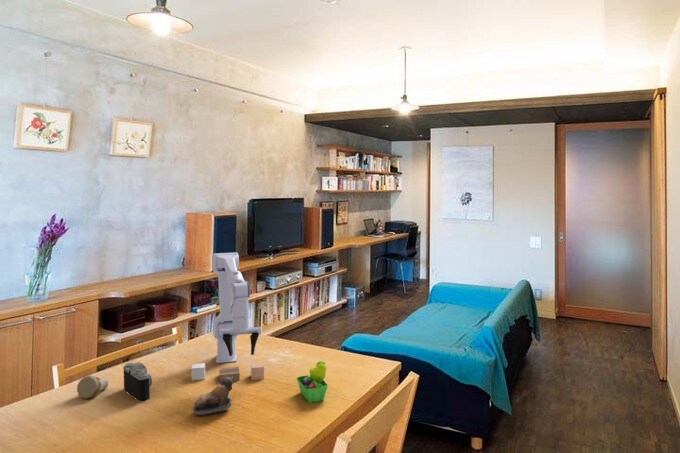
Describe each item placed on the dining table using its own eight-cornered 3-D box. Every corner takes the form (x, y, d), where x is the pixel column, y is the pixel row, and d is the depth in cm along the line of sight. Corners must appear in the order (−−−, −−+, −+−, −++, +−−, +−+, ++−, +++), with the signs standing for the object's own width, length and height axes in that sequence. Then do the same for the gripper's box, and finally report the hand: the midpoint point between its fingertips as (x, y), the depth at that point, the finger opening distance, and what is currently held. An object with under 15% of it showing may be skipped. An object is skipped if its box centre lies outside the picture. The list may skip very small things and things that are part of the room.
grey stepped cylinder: (115, 388, 154) (110, 369, 149) (94, 410, 146) (88, 391, 141) (97, 380, 155) (92, 361, 150) (75, 403, 148) (69, 384, 142)
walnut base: (219, 376, 165) (219, 368, 165) (238, 374, 167) (238, 366, 167) (219, 383, 158) (219, 375, 158) (239, 381, 160) (239, 373, 160)
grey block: (192, 376, 164) (192, 364, 164) (205, 374, 165) (205, 363, 165) (191, 380, 160) (191, 368, 160) (204, 379, 161) (204, 367, 161)
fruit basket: (295, 391, 150) (295, 359, 150) (320, 387, 154) (320, 355, 153) (306, 405, 140) (306, 370, 139) (332, 400, 143) (332, 366, 143)
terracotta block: (250, 375, 165) (250, 363, 164) (263, 374, 166) (262, 362, 166) (251, 380, 160) (251, 368, 160) (264, 379, 161) (263, 366, 161)
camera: (160, 396, 147) (159, 366, 146) (139, 403, 142) (139, 372, 141) (141, 383, 157) (141, 356, 156) (121, 389, 152) (121, 361, 151)
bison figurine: (194, 420, 130) (193, 386, 130) (191, 410, 137) (191, 378, 136) (235, 412, 135) (234, 380, 135) (231, 403, 142) (230, 372, 141)
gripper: (217, 319, 153) (218, 358, 153) (259, 317, 154) (260, 356, 153) (222, 315, 160) (223, 353, 160) (262, 314, 161) (263, 351, 160)
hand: (241, 354), depth 157 cm, fingers open, 7 cm apart
